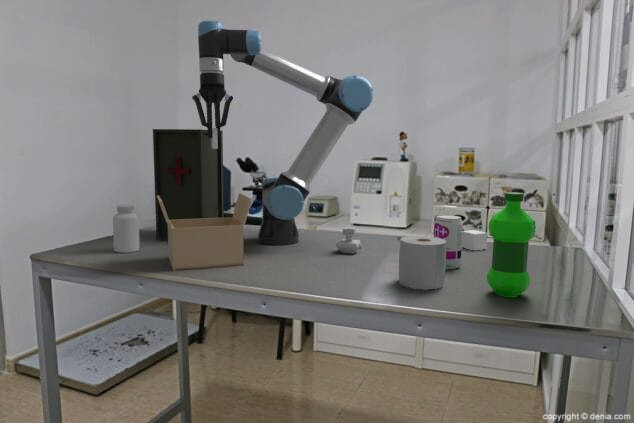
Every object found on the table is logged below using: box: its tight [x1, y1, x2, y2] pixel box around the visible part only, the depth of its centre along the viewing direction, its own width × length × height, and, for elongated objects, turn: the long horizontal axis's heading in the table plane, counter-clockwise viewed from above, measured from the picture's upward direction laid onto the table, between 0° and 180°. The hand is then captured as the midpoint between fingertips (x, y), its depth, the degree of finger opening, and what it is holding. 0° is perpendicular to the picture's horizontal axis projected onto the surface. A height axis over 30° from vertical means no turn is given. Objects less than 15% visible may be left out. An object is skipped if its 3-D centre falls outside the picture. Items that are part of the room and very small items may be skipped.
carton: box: [167, 216, 245, 272], centre depth 151 cm, size 20×16×12 cm
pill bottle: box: [112, 204, 140, 254], centre depth 164 cm, size 8×8×15 cm
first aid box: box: [152, 128, 225, 241], centre depth 187 cm, size 18×18×40 cm
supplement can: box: [433, 214, 464, 270], centre depth 149 cm, size 8×8×15 cm
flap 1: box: [157, 195, 172, 229], centre depth 146 cm, size 8×15×1 cm
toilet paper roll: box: [398, 235, 446, 291], centre depth 131 cm, size 12×12×12 cm
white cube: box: [462, 229, 488, 251], centre depth 175 cm, size 6×6×6 cm
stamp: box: [335, 226, 364, 255], centre depth 166 cm, size 9×7×8 cm
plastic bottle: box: [486, 191, 537, 298], centre depth 122 cm, size 10×10×25 cm
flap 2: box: [232, 192, 252, 226], centre depth 154 cm, size 8×15×1 cm
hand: (214, 148), depth 162 cm, fingers closed
